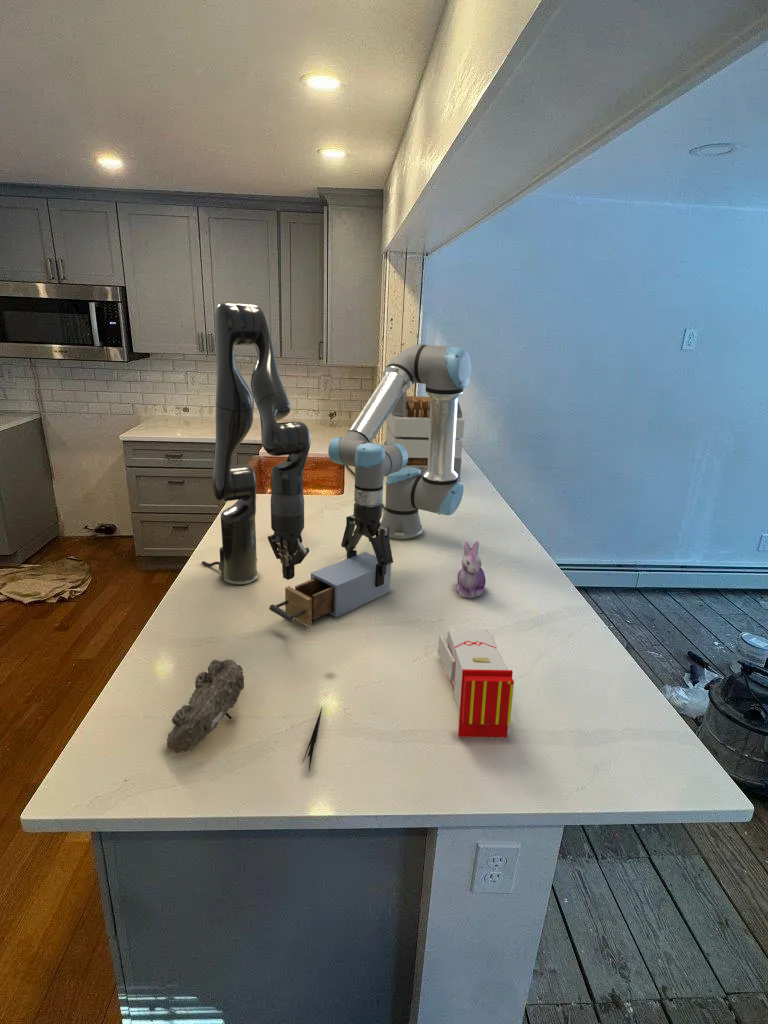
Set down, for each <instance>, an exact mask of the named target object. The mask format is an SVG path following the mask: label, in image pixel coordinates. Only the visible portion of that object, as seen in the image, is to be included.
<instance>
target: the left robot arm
mask: <svg viewBox="0 0 768 1024" xmlns="http://www.w3.org/2000/svg"><path fill="white" fill-rule="evenodd" d="M269 329H270V328H269V324H268V321H267V318H266V315H265V313H264V311H263V309H262V308H261V306H260V305H257V304H254V303H244V302H243V303H241V302H220V303H219V304H217V306H216V308H215V313H214V341H215V357H216V359H215V361H216V388H215V389H216V390H215V414H214V415H215V448H214V458H213V466H212V479H211V480H212V492H213V495H214V497H215V499H216V500H218V501H219V502H232V501H236V502H234V504H232V505H231V506H229V507H227V508H226V509H224V510H223V511H221V513H220V530H221V544H222V546H221V547H220V548H219V561H214V562H211V563H208V562H207V561H203V560H202V561H201V564H202V565H204V566H205V567H213V566H215V565H218V571H220V579H221V580H222V581H224V582H225V583H227V584H229V585H233V586H234V585H235V586H241V585H248V584H251V583H253V582H255V581H256V580H257V579H258V577H259V576H258V556H257V532H256V529H257V528H256V513H257V477H256V474H255V470H254V468H253V467H252V466H251V465H249V464H236V465H232V460H233V457H234V455H235V453H236V451H237V449H238V448H239V447H240V445H241V443H242V442H243V440H245V438H246V436H248V433H250V430H251V428H252V426H253V423H254V412H255V411H254V410H255V409H254V408H255V405H256V408H257V411H258V413H259V419H260V431H261V432H260V433H261V434H260V436H261V445H262V447H263V449H264V451H265V452H266V454H268V455H270V456H271V457H282V456H287V458H286V459H285V460H284V461H282V462H280V463H277V464H276V465H274V466H272V467H271V471H270V489H271V492H270V493H271V494H270V528H271V530H272V531H273V534H271V535H267V541H268V542H269V545H270V547H271V549H272V552H273V554H274V556H275V558H276V559H277V560H280V561H279V562H280V564H281V567H282V568H281V574H282V578H283V579H285V580H287V581H290V580H291V579H294V578H295V575H296V574H295V572H296V571H295V566H296V565H299V564H302V562H303V561H304V559H305V558H306V557H307V556H308V554H309V553H310V548H309V547H305V546H304V544H303V537H302V532H303V530H304V529H305V497H304V470H305V467H306V463H307V459H308V455H309V453H310V448H311V444H312V436H311V432H310V429H309V427H308V426H307V424H306V423H304V422H302V421H287V422H278V421H280V420H283V419H284V418H286V417H287V416H289V414H290V412H291V402H290V400H289V398H288V395H287V393H286V390H285V388H284V387H285V386H284V385H283V383H282V380H281V376H280V374H279V370H278V366H277V362H276V358H275V352H274V347H273V342H272V338H271V333H270V330H269ZM248 345H249V346H252V345H253V346H254V348H255V351H256V354H257V355H256V361H255V365H254V368H253V371H252V374H251V377H250V386H249V385H248V383H247V382H246V380H245V379H244V377H243V375H242V374H241V372H240V371H239V368H238V366H237V363H236V360H235V359H236V358H235V351H234V349H235V348H234V347H235V346H248Z"/></svg>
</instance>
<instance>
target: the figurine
mask: <svg viewBox="0 0 768 1024" xmlns="http://www.w3.org/2000/svg"><path fill="white" fill-rule="evenodd" d="M479 548H480V541H479V540H476V541H475V542H474V543H473V546H472V547H470V545H469V543H468V542H467V541H464V542H463V552H464V553H463V555H464V556H463V558H462V559H461V567H462V568H461V569H460V570H459V571H458V573H457V577H456V578H457V580H456V581H457V582H456V586H455V589H456V592H457V593H458V595H459V596H460V597H462V598H468V599H473V598H477V597H480V596H481V595H482V594H483V593H484V590H485V587H486V581H487V580H486V579H487V578H486V575H485V571H484V570H483V568H482V565H483V564H482V560H481V558H480V556H479V555H480V554H479Z"/></svg>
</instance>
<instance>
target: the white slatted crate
mask: <svg viewBox="0 0 768 1024" xmlns="http://www.w3.org/2000/svg"><path fill="white" fill-rule="evenodd" d="M407 394H408V393H407V391H404V392H403V393H402V395H401V397H400V398H399V400H398V401H397V403H396V405H395V406H394V408H393V409H392V411H391V413H390V414H389V416H388V417H387V419H386V421H385V423H386V428H385V438H384V442H383V445H389V444H400V445H402V446H403V447H404V448H405V449H406V451H407V454H408V462H407V464H406V465H405V466H406V467H409V466H411V467H417V466H418V467H427V466H428V441H429V415H430V396H415V395H414V396H413V395H412V396H411V395H407ZM464 429H465V419H464V418H463V411H462V408H461V405H460V402H459V401H458V403H457V420H456V437H455V454H454V471H455V472H456V473H457V474H458V482H461V472H462V461H463V460H462V453H463V442H464V441H463V440H462V439H463V438H464V431H465V430H464Z"/></svg>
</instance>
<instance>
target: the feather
mask: <svg viewBox="0 0 768 1024" xmlns="http://www.w3.org/2000/svg"><path fill="white" fill-rule="evenodd" d="M329 675H330V676H331V675H332V674H331V673H330V674H329ZM322 710H323V707H321V708H320V710H319V713H318V716H317V719H316V723H315V725H314V728H313V731H312V733H311V737H310V739H309V742H308V745H307V748H306V751H305V754H304V757H303V760H302V763H301V767H302V765H303V763H304V761H305V758H308V759H309V760H308V762H307V763H308V764H307V766H308V771H310V770H311V766H312V765H311V764H312V760H313V757H315V756H314V755H315V751H316V749H315V746H317V739H318V733H319V729H320V722H321V717H322V712H323V711H322ZM313 754H314V755H313ZM306 755H307V757H306Z"/></svg>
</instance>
